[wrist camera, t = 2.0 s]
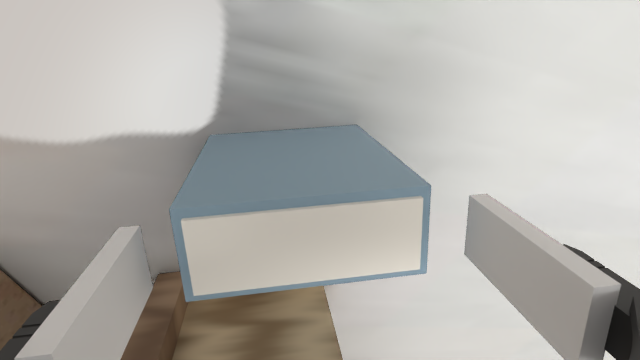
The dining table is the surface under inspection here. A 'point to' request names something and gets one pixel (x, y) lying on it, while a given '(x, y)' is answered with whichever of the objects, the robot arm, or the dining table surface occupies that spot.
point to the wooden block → (13, 308)
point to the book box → (297, 213)
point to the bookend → (260, 327)
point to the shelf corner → (159, 321)
